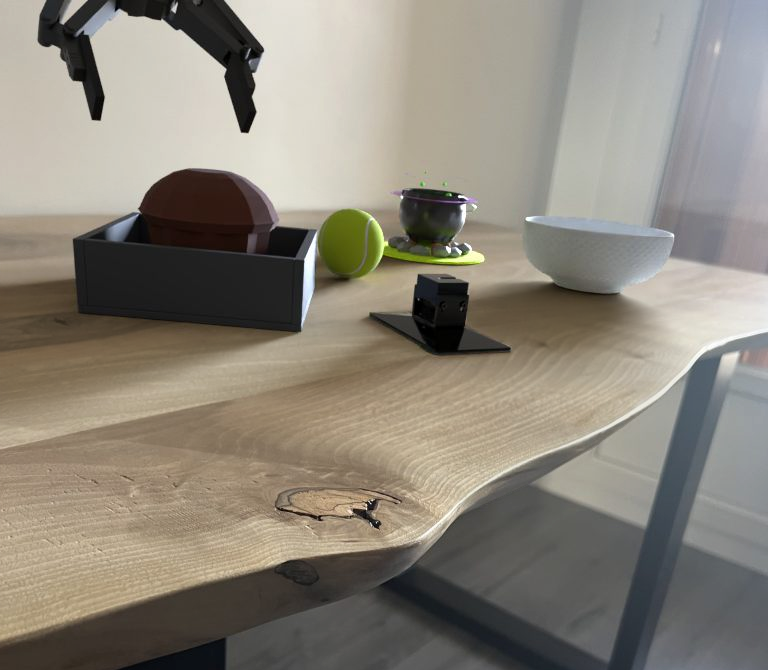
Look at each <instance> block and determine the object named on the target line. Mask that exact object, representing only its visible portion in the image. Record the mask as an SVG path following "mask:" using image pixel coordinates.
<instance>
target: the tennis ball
mask: <svg viewBox="0 0 768 670" xmlns="http://www.w3.org/2000/svg"><path fill="white" fill-rule="evenodd" d="M384 239H385V238H384V233H383V230H382V228H381V226H380V224H379V222H378V221H377V220H376V219H375V218H374V217H373V216H372V215H371V214H370V213H367V212H366V211H364V210H361V209H356V208H343V209H340V210H337V211H335V212H333V213H331V214H330V215H328V217H327V218H326V219H325V220H324V221H323V223H322V225H321V227H320V229H319V230H318V235H317V252H318V255H319V258H320V260H321V261H322V263H323V265H324V266H325V267H326V269H328V270H329V271H330V272H331V273H333V274H334V275H336V276H338V277H340V278H343V279H358V278H362V277H364V276H367V275H368V274H370V273H371V272H373V271H374V270H375V268H377V266H378V265H379V263H380V261H381V259H382V258H383V255H382V254H383V250H384V242H385V240H384Z"/></svg>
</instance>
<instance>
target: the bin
mask: <svg viewBox="0 0 768 670" xmlns="http://www.w3.org/2000/svg"><path fill="white" fill-rule="evenodd" d="M318 235H319V229H315V228H305V227H303V228H302V227H295V226H283V225H276V227H275V228H274V229H273V230H271V231H270V237H269V243H268V249H267V255H259V254H249V253H238V252H227V251H216V250H206V249H195V248H184V247H173V246H163V245H152V244H151V240H150V234H149V229H148V223H147V220H146V219H145V217H144V216H143V215H142V214H141V212H137V211H136V212H135V211H132V212H130V213H128V214H126V215H123V216H121V217H119V218H116V219H114V220H112V221H109V222H108V223H105V224H102V225H101V226H99V227H96V228H94V229H92V230H90V231H87V232H85V233H83V234H81V235H78V236H76V237H73V238H72V251H73V263H74V276H75V291H76V304H77V312H78V313H80V314H92V315H103V316H113V317H124V318H125V317H126V318H138V319H149V320H159V321H160V320H161V321H172V322H184V323H193V324H194V323H195V324H204V325H206V324H207V325H216V326H226V327H227V326H229V327H238V328H249V329H250V328H252V329H262V330H272V331H274V330H275V331H285V332H286V331H287V332H298V333H301V332H302V330H303V327H304V324H305V320H306V317H307V314H308V311H309V308H310V304H311V300H312V298H313V295H314V292H315V289H316V272H317V271H316V270H317V253H318Z"/></svg>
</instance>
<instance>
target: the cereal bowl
mask: <svg viewBox="0 0 768 670" xmlns="http://www.w3.org/2000/svg"><path fill="white" fill-rule="evenodd" d="M521 234H522V235H521V238H522V242H521V243H522V248H523V252H524V255H525V257H526V259H527V260H528V262H529V263H530V264H531V265H532V266H533V267H534V268H535V269H537V270H538V271H539V272H541V273H542V274H545V275H547V276H548V277H549V278H550V279H551V281H552V282H553V283H554V284H555V285H556V286H559V287H561V288H564V289H569V290H573V291H577V292H584V293H593V294H618V293H620V292H622V291H623V290H624V289H625V288H626V287H631V286H634V285H637V284H640V283H643V282H646V281H648V280H650V279H652V278H653V277H654V276H656V275H657V274H658V273H660V272H661V270H662V269H663V268H665V266H666V263H667V261H668V260H669V257H670V255H671V252H672V249H673V245H674V242H675V234H674V233H672V232H670V231H667V230H664V229H660V228H655V227H651V226H646V225H645V226H644V225H641V224H635V223H627V222H620V221H613V220H604V219H596V218H586V217H575V216H559V215H558V216H557V215H534V216H533V215H532V216H527V217H525V218H524V220H523V225H522V233H521Z"/></svg>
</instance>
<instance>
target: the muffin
mask: <svg viewBox="0 0 768 670" xmlns="http://www.w3.org/2000/svg"><path fill="white" fill-rule="evenodd" d="M137 210H138V211H139V213H141V214H142V215H143V216H144V217H145V219H146V220H147V223H148V229H149V234H150V240H151V244H152V245H163V246H173V247H184V248H195V249H206V250H216V251H227V252H238V253H249V254H259V255H267V249H268V243H269V237H270V231H271V230H273V229H274V228H275V227H276V226H278V223H279V222H280V220H281V219H280V217H279V216H278V214H277V211H276V209H275V207H274V204H273V202H272V201H271V199H270V198H269V197H268V195H267V194H266V192H264V191H263V190H262V189H261V188H260V187H259V186H257V185H256V184H254V183H253V182H252V181H251V180H249V179H248V178H246V177H244V176H242V175H240V174H238V173H235V172H232V171H228V170H222V169H216V168H215V169H214V168H200V167H188V168H183V169H179V170H175V171H172V172H171V173H169V174H167V175H165V176H163V177H162V178H159V180H157V181H155V182H154V183H153V184H152V185H151V186H150V188H149V189H148V190H147V191H146V192H145V194H144V196H143V198H142V201H141V202H140V205H139V207H137Z"/></svg>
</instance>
